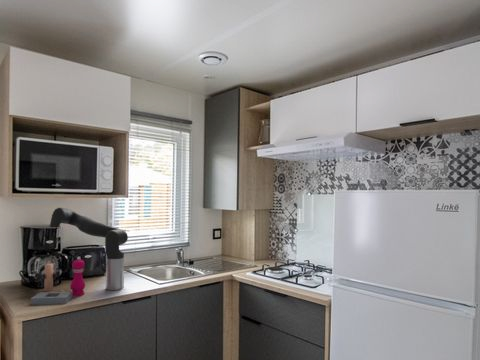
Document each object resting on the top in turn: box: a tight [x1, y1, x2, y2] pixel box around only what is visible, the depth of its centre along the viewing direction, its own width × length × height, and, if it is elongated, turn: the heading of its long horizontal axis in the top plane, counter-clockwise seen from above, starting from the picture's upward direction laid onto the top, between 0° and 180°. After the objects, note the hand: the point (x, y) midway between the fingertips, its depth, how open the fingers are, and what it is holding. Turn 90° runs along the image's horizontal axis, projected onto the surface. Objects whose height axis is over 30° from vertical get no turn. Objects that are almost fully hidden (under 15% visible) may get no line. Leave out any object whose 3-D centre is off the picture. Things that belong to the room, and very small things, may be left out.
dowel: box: [43, 262, 54, 292], centre depth 180 cm, size 4×4×14 cm
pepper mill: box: [69, 256, 86, 297], centre depth 182 cm, size 7×7×20 cm
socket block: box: [30, 291, 74, 306], centre depth 170 cm, size 16×10×3 cm, turn 100°
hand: (49, 276), depth 178 cm, fingers closed on dowel, 4 cm apart
